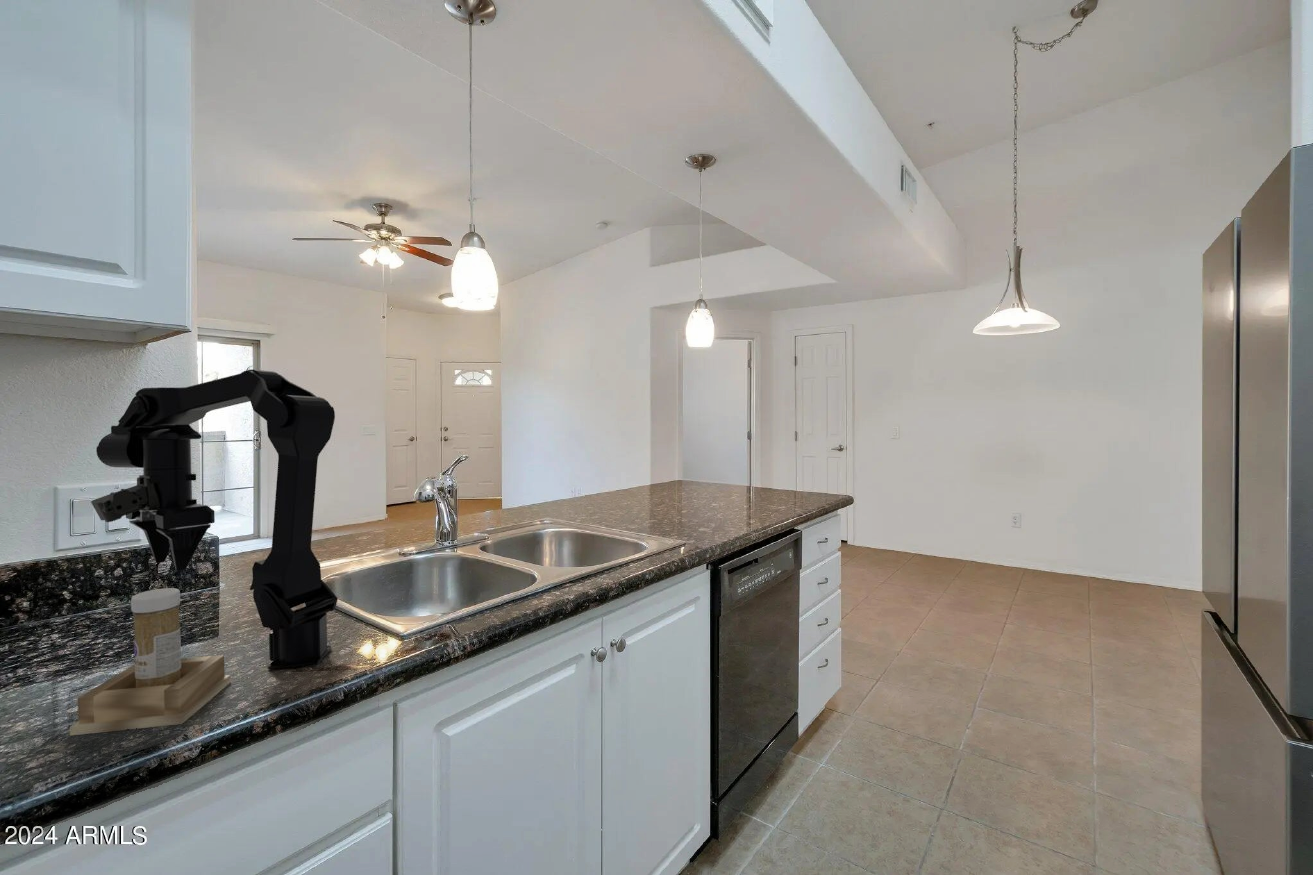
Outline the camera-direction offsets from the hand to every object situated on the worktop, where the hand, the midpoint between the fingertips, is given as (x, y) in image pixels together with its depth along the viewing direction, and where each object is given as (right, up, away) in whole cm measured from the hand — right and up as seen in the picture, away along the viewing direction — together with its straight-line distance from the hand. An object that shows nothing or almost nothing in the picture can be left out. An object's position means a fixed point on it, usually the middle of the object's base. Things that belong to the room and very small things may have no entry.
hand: (170, 566), depth 89 cm
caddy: (+15, -13, -18) cm, 27 cm away
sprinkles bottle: (+15, -13, -19) cm, 27 cm away
